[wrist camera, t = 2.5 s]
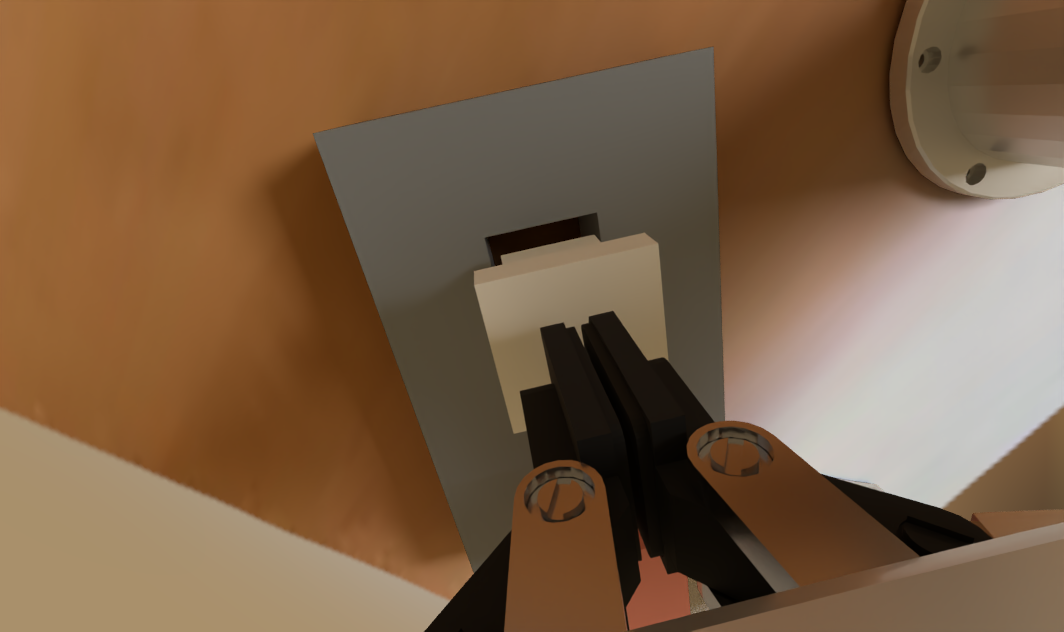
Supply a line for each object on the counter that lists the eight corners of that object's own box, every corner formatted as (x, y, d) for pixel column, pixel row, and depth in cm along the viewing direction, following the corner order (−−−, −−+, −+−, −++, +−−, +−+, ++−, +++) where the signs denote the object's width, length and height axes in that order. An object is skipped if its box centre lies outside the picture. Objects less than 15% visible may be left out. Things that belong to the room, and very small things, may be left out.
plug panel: (664, 56, 18) (713, 46, 14) (694, 492, 27) (729, 553, 24) (344, 125, 18) (312, 133, 14) (485, 542, 27) (487, 611, 23)
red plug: (643, 455, 19) (684, 539, 16) (653, 533, 21) (691, 624, 18) (535, 481, 19) (550, 571, 16) (554, 557, 21) (572, 653, 17)
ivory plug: (613, 207, 15) (658, 243, 11) (628, 332, 17) (671, 396, 13) (473, 239, 15) (474, 285, 11) (504, 360, 17) (513, 433, 13)
